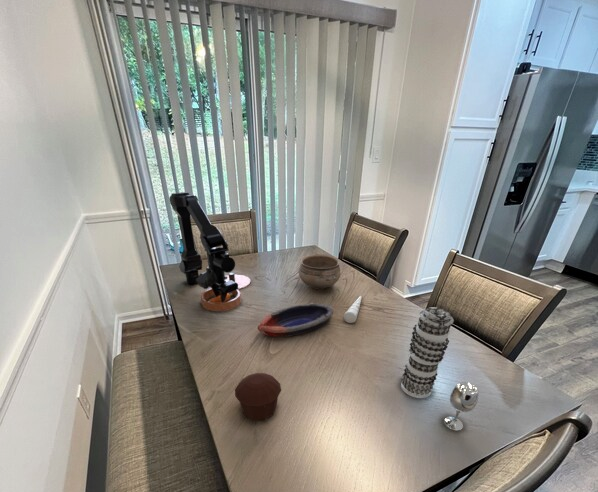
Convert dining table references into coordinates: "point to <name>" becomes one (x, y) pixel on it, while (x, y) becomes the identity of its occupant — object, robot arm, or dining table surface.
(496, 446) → the dining table surface
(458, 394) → the wineglass
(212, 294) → the faceted terracotta bowl
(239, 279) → the lid
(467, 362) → the dining table surface
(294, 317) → the dish
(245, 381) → the muffin
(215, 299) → the carrot
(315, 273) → the cooking pot
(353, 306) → the unicorn horn
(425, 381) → the decorative candle
